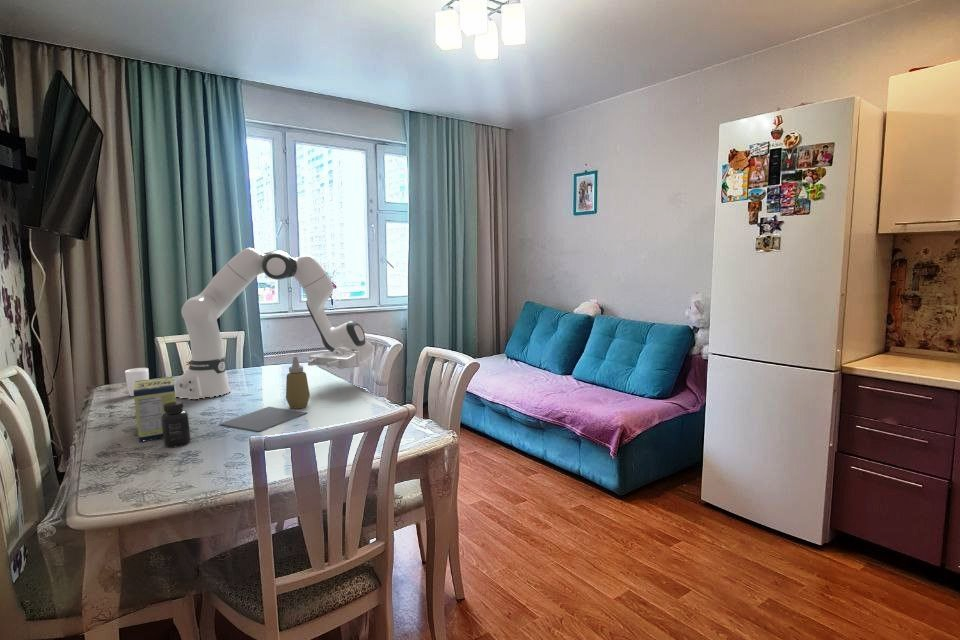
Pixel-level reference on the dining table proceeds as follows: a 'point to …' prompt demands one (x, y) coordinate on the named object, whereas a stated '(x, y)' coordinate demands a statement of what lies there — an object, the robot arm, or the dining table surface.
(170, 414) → the supplement bottle
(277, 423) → the mat
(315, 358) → the robot arm
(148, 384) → the protein box
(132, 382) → the white cup
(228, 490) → the dining table surface
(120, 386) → the dining table surface
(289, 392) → the squeeze bottle
